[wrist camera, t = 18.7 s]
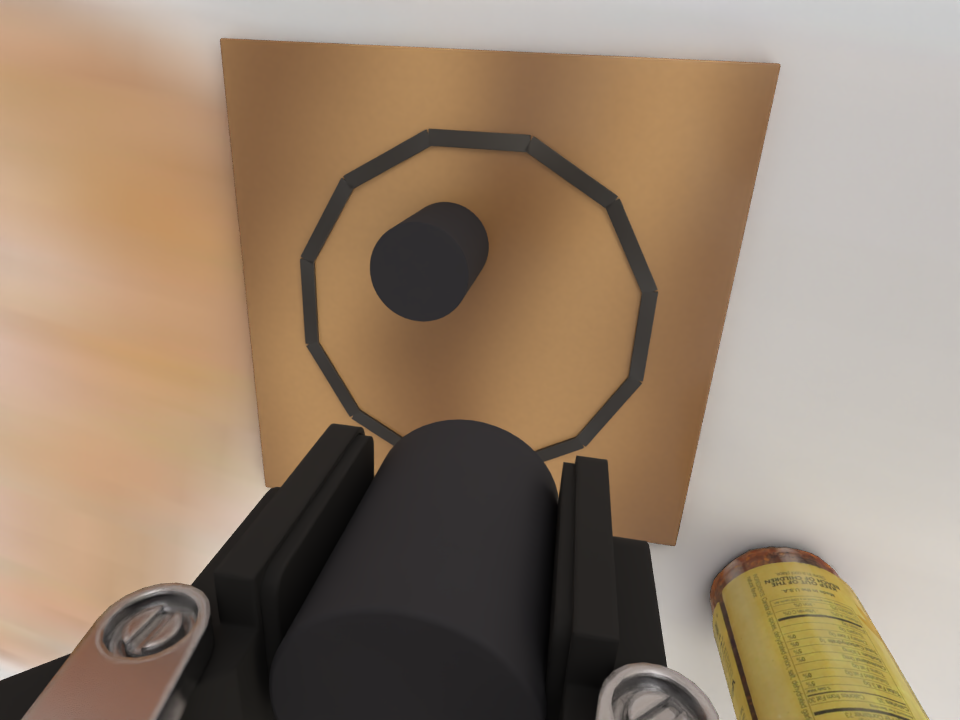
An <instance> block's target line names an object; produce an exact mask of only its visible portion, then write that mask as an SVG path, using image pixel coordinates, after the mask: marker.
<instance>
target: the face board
mask: <svg viewBox="0 0 960 720" xmlns="http://www.w3.org/2000/svg"><path fill="white" fill-rule="evenodd" d="M220 45H221V54H222V64H223V74H224V84H225V94H226V103H227V113H228V123H229V133H230V143H231V152H232V162H233V172H234V182H235V192H236V201H237V211H238V221H239V231H240V241H241V251H242V260H243V270H244V280H245V290H246V300H247V309H248V319H249V329H250V339H251V349H252V358H253V368H254V378H255V388H256V398H257V407H258V417H259V427H260V437H261V447H262V456H263V466H264V476H265V486H266V487H270V488H274V487H281V486H282V485H283V484H284V482H285V481H286V480H287V478H288V477H289V476H290V475H291V473H292V472H293V471H294V470H295V468H296V467H297V466H298V465H299V463H300V462H301V461H302V460H303V458H304V457H305V456H306V455H307V453H308V452H309V451H310V449H311V448H312V447H313V446H314V444H315V443H316V442H317V441H318V439H319V438H320V437H321V436H322V434H323V433H324V432H325V431H326V429H327V428H328V427H329V426H330V425H331V424H333V423H335V424H343V425H350V426H358V427H362V428H363V429H364V432H365V435H366V436H372V437H373V440H374V477H375V475H376V473H377V471H378V470H379V468H380V466H381V464H382V462H383V461H384V459H385V457H386V456H387V454H388V452H389V451H390V450H391V449H392V447H393V446H394V445H395V444H396V443H397V442H398V441H399V440H400V439H401V438H403V437H404V436H405V435H407V434H408V433H410V432H411V431H413V430H415V429H417V428H420V427H422V426H424V425H427V424H431V423H434V422H438V421H444V420H456V419H462V420H474V421H479V422H484V423H488V424H491V425H494V426H497V427H499V428H501V429H504V430H506V431H508V432H510V433H512V434H513V435H515V436H517V437H518V438H520V439H521V440H522V441H524V442H525V443H526V444H528V445H529V446H530V447H531V448H532V449H533V450H534V451H535V452H536V453H537V454H538V455H539V457H540V458H541V459H542V460H543V462H544V463H545V464H546V466H547V468H548V469H549V471H550V473H551V475H552V477H553V479H554V482H555V484H556V488H557V492H558V497H559V491H560V483H561V476H562V468H563V462H568V463H575V459H576V455H577V456H584V457H592V458H599V459H607V460H608V471H609V486H610V501H611V517H612V532H613V536H616V537H623V538H629V539H636V540H643V541H647V542H650V543H656V544H663V545H670V546H675V545H676V540H677V536H678V531H679V527H680V522H681V518H682V513H683V509H684V504H685V499H686V495H687V490H688V486H689V481H690V477H691V472H692V468H693V463H694V458H695V454H696V449H697V445H698V440H699V436H700V431H701V426H702V422H703V417H704V413H705V408H706V404H707V399H708V395H709V390H710V385H711V381H712V376H713V372H714V367H715V363H716V358H717V354H718V349H719V344H720V340H721V335H722V331H723V326H724V322H725V317H726V312H727V308H728V303H729V299H730V294H731V290H732V285H733V281H734V276H735V271H736V267H737V262H738V258H739V253H740V249H741V244H742V240H743V235H744V230H745V226H746V221H747V217H748V212H749V208H750V203H751V198H752V194H753V189H754V185H755V180H756V176H757V171H758V167H759V162H760V157H761V153H762V148H763V144H764V139H765V135H766V130H767V126H768V121H769V116H770V112H771V107H772V103H773V98H774V94H775V89H776V84H777V80H778V75H779V71H780V64H778V63H756V62H734V61H712V60H690V59H668V58H646V57H624V56H602V55H580V54H558V53H536V52H514V51H492V50H470V49H448V48H426V47H404V46H381V45H359V44H337V43H315V42H293V41H271V40H249V39H227V38H221V39H220ZM438 202H451V203H456V204H459V205H462V206H464V207H466V208H467V209H469V210H470V211H472V212H473V213H474V214H475V215H476V216H477V217H478V218H479V220H480V221H481V222H482V224H483V226H484V228H485V230H486V232H487V236H488V242H489V252H488V257H487V261H486V263H485V265H484V267H483V269H482V270H481V272H480V274H479V275H478V277H477V278H476V280H475V281H474V283H473V284H472V286H471V288H470V289H469V291H468V292H467V294H466V295H465V297H464V298H463V300H462V301H461V303H460V304H459V305H458V307H457V308H456V309H455V310H454V311H452V312H451V313H450V314H448V315H446V316H445V317H443V318H440V319H437V320H433V321H426V322H422V321H413V320H409V319H406V318H404V317H401V316H399V315H397V314H396V313H394V312H393V311H391V310H390V309H389V308H388V307H387V306H386V305H385V304H384V303H383V302H382V301H381V300H380V298H379V297H378V295H377V293H376V291H375V289H374V287H373V284H372V281H371V276H370V259H371V254H372V251H373V249H374V247H375V245H376V243H377V242H378V240H379V239H380V237H381V236H382V235H383V234H384V233H385V232H387V231H388V230H389V229H391V228H393V227H394V226H396V225H397V224H399V223H400V222H402V221H404V220H405V219H407V218H408V217H410V216H412V215H413V214H415V213H416V212H418V211H420V210H421V209H423V208H424V207H426V206H428V205H431V204H434V203H438Z"/></svg>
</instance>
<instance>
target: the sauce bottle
mask: <svg viewBox="0 0 960 720" xmlns="http://www.w3.org/2000/svg"><path fill="white" fill-rule="evenodd" d="M710 603H711V609H712V615H713V632H714V637H715V640H716V644H717V647H718V651H719V655H720V658H721V662H722V666H723V670H724V673H725V677H726V681H727V685H728V688H729V692H730V696H731V699H732V703H733V707H734V710H735V714H736V717H737V720H929V718H928V716H927V715H926V713H925V711H924V710H923V708H922V706H921V705H920V703H919V701H918V700H917V698H916V696H915V694H914V692H913V691H912V689H911V687H910V686H909V684H908V682H907V681H906V679H905V677H904V675H903V674H902V672H901V670H900V669H899V667H898V665H897V663H896V662H895V660H894V658H893V656H892V655H891V653H890V651H889V650H888V648H887V646H886V645H885V643H884V641H883V640H882V638H881V636H880V635H879V633H878V631H877V630H876V628H875V626H874V625H873V623H872V621H871V619H870V618H869V616H868V614H867V613H866V611H865V609H864V608H863V606H862V604H861V602H860V601H859V599H858V598H857V596H856V594H855V593H854V592H853V590H852V589H851V588H850V587H849V586H848V585H847V584H846V583H845V582H844V581H843V580H841V578H840V577H839V576H838V574H837V573H836V572H835V570H834V569H833V568H831V567H830V566H829V565H828V564H827V563H825V562H824V561H823V560H821V559H820V558H819V557H818V556H815V555H813V554H812V553H809V552H806V551H802V550H798V549H793V548H787V547H782V548H781V547H778V548H775V547H767V548H759V549H752V550H749V551H748V552H746V553H744V554H743V555H740V556H739V557H737V558H735V559H734V560H733V561H732V562H731V563H730V564H728V565H727V566H726V567H725V568H724V569H723V570H722V571H721V572H720V573H718V575H717V576H716V577H715V579H714V581H713V584H712V587H711V591H710Z"/></svg>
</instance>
